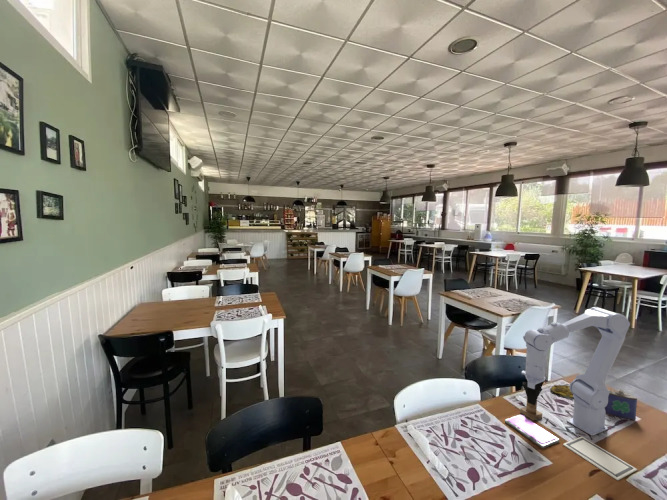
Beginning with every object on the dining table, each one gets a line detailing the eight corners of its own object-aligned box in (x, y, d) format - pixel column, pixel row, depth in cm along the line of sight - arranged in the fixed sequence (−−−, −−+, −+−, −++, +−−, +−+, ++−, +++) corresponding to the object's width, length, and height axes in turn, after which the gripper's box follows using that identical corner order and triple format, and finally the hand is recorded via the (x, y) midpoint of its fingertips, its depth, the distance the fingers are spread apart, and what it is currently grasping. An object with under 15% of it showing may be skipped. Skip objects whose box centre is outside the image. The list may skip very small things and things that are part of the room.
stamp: (528, 410, 110) (529, 394, 110) (542, 418, 106) (543, 402, 105) (520, 413, 109) (521, 397, 108) (533, 421, 104) (534, 405, 104)
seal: (561, 402, 117) (593, 400, 119) (563, 393, 116) (595, 390, 118) (543, 387, 126) (572, 385, 128) (544, 378, 126) (574, 376, 127)
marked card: (581, 437, 96) (581, 436, 96) (636, 470, 83) (637, 468, 83) (563, 444, 92) (563, 443, 92) (617, 480, 79) (617, 478, 79)
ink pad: (520, 416, 106) (520, 413, 106) (559, 442, 94) (559, 438, 94) (504, 422, 103) (505, 418, 103) (542, 448, 91) (542, 444, 91)
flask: (633, 418, 106) (636, 391, 105) (637, 422, 103) (639, 395, 103) (601, 410, 110) (603, 384, 110) (604, 414, 108) (606, 388, 107)
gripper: (526, 353, 108) (524, 386, 109) (518, 366, 98) (516, 403, 99) (548, 359, 103) (546, 394, 104) (542, 374, 93) (540, 412, 94)
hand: (533, 399), depth 101 cm, fingers open, 7 cm apart
